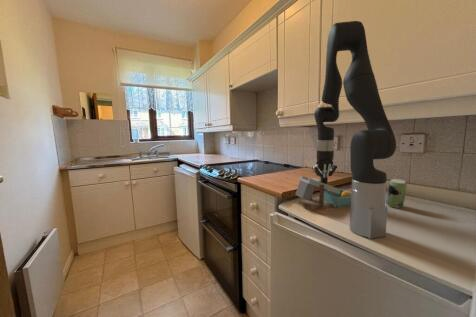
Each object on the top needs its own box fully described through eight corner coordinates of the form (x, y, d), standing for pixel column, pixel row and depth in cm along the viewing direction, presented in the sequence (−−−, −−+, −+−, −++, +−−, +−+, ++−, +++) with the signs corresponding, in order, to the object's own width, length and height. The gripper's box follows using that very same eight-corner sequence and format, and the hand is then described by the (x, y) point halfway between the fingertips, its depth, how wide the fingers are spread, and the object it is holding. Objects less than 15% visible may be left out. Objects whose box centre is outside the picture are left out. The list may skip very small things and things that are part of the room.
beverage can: (396, 203, 90) (399, 177, 88) (409, 210, 83) (411, 181, 81) (382, 203, 91) (383, 177, 89) (392, 209, 83) (395, 181, 82)
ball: (345, 201, 92) (352, 200, 93) (345, 193, 92) (352, 191, 93) (339, 198, 96) (346, 197, 97) (339, 190, 96) (346, 189, 97)
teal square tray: (360, 204, 90) (361, 196, 89) (338, 207, 87) (339, 198, 87) (341, 196, 101) (342, 189, 101) (321, 199, 98) (322, 191, 98)
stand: (309, 210, 85) (310, 186, 84) (297, 202, 95) (298, 181, 93) (334, 207, 88) (335, 184, 86) (319, 199, 97) (320, 179, 96)
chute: (302, 198, 85) (311, 176, 85) (289, 191, 96) (297, 171, 96) (334, 208, 90) (342, 187, 89) (318, 200, 101) (325, 182, 100)
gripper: (317, 150, 90) (316, 188, 92) (342, 149, 93) (341, 185, 95) (308, 149, 97) (307, 184, 100) (331, 148, 100) (330, 182, 103)
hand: (323, 184), depth 98 cm, fingers closed
